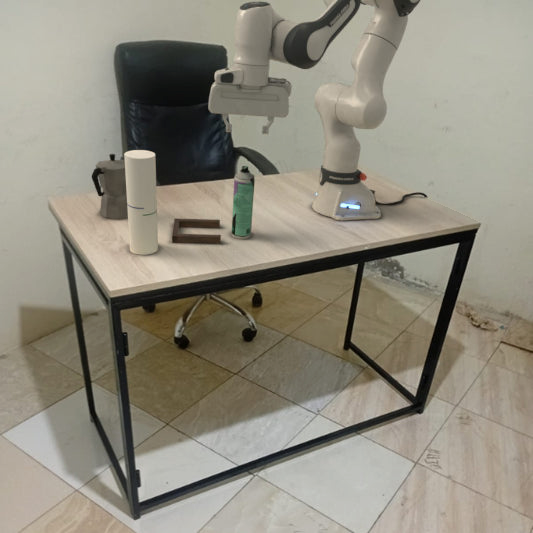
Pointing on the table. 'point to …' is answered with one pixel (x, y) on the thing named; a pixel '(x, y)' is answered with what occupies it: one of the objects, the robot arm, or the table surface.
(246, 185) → the spray can
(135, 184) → the cylindrical container
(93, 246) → the table surface
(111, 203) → the coffeepot
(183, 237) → the frame
